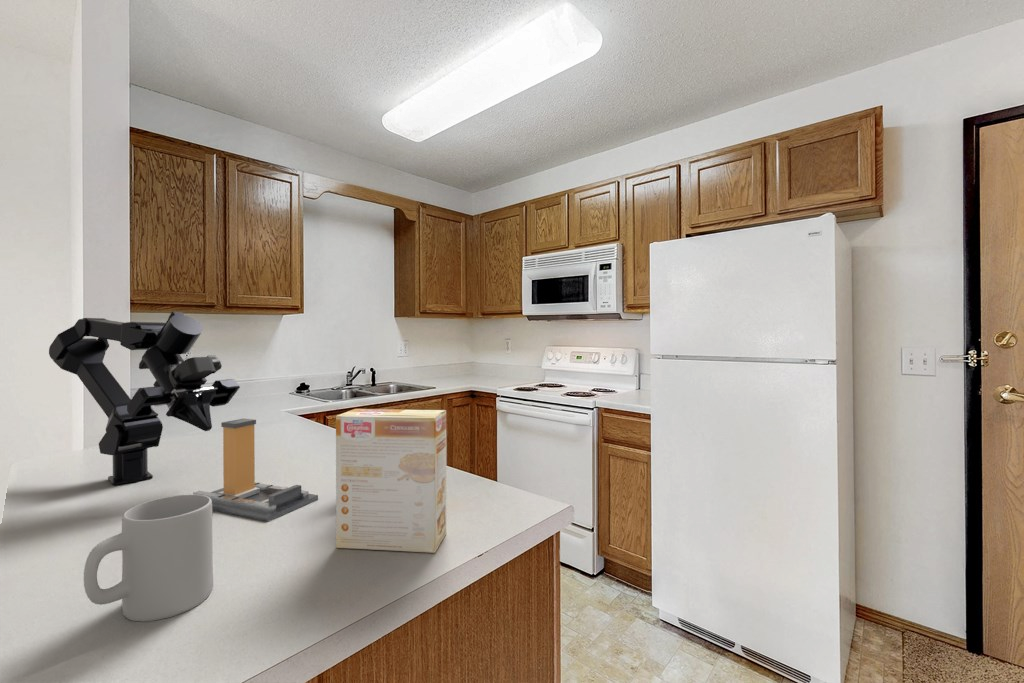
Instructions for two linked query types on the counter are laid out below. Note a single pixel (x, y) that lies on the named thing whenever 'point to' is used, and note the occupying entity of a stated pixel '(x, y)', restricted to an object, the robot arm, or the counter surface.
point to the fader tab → (239, 458)
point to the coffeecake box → (391, 479)
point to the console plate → (261, 501)
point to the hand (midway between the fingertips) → (208, 429)
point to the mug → (158, 558)
